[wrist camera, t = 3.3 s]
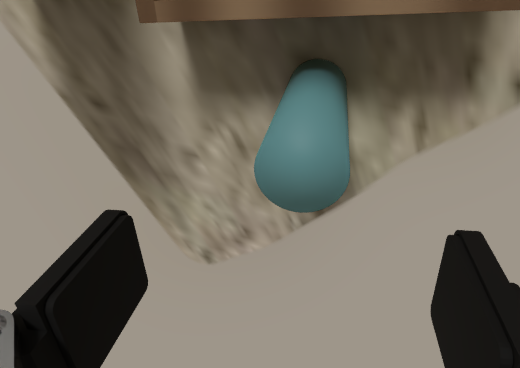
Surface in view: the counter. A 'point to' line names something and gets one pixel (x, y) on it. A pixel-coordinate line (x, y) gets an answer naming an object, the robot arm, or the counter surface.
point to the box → (303, 8)
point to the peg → (307, 141)
